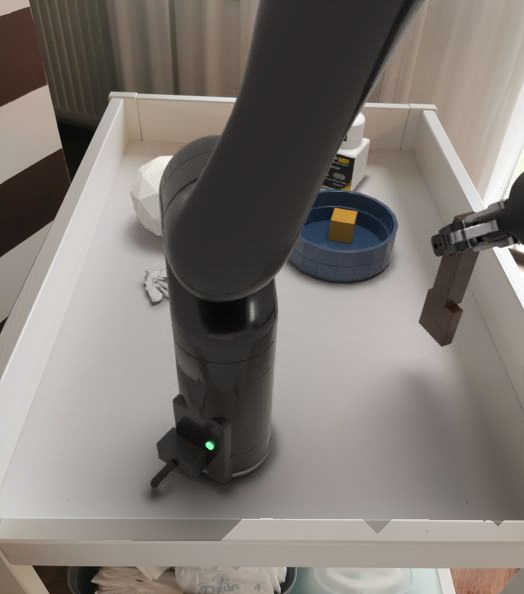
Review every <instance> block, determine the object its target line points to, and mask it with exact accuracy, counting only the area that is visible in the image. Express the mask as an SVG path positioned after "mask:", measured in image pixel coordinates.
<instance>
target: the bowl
mask: <svg viewBox="0 0 524 594" xmlns="http://www.w3.org/2000/svg"><path fill="white" fill-rule="evenodd" d="M335 208H339V209H345V210H351V211H357V218H356V224H355V230H354V234H353V238H352V241H351V243H346V242H340V241H334V240H329V239H328V238H329V230H330V222H331V218H332V215H333V212H334V209H335ZM398 229H399V222H398V219H397V216H396V214H395V213H394V212H393V211H392V209H391V208H390V207H389V206H388V205H387V204H385V203H384V202H382V201H381V200H379V199H377V198H375V197H373V196H370V195H368V194H364V193H363V192H358V191H354V190H353V191H348V190H332V189H322V190H321V189H320V191H319V193H318V195H317V197H316V200H315V202H314V204H313V206H312V208H311V211H310V213H309V215H308V217H307V220H306V222H305V224H304V226H303V229H302V231H301V233H300V236H299V238H298V240H297V242H296V244H295V246H294V248H293V250H292V252H291V254H290V256H289V258H288V260H289V261H290V262H291V263H292V264H293V265H294V266H295V267H296V268H297V269H299V270H300V271H301V272H303V273H305V274H307V275H309V276H311V277H314V278H316V279H320V280H323V281H327V282H336V283H352V282H353V283H354V282H358V281H359V282H360V281H363V280H367V279H369V278H372V277H374V276H376V275H377V274H378V273H380V272H382V271H383V270H384V269H385V268H386V267H387V266H388V265H389V263H390V262H391V260H392V255H393V251H394V247H395V242H396V239H397V233H398Z"/></svg>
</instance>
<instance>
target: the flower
mask: <svg viewBox="0 0 524 594" xmlns="http://www.w3.org/2000/svg"><path fill="white" fill-rule="evenodd" d="M150 269H151V268H150V267H149V268H148V269H147V270H144V272H145V275H144V277H143V279H144V281H143V283H144V284H145V288H144V289H145V290H144V291H147V293H148V295H149V298H150V300H151V302H153V303H154V302H159V301H161V300H162V299H163V296H164V297H166V298H169V296H168V286H167V280H165V278H167V274H166V268H163V269H160V268H157V270H156V271H154V272H152V271H151V272H150Z"/></svg>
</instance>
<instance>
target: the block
mask: <svg viewBox="0 0 524 594" xmlns="http://www.w3.org/2000/svg"><path fill="white" fill-rule="evenodd" d="M356 218H357V211H351V210H345V209H339V208H335V209H334V212H333V215H332V218H331V222H330V230H329V238H328V239H329V240H334V241H340V242H346V243H351V241H352V238H353V234H354V230H355V224H356Z"/></svg>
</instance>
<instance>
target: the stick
mask: <svg viewBox="0 0 524 594" xmlns="http://www.w3.org/2000/svg"><path fill="white" fill-rule="evenodd" d="M476 212H477V211H468V212H465V213H461V214H456V215H454V217H453V220H452V221H455V220H458V221H461V220H463V221H464V220H465V218H466V216H468V215H471V214H474V213H476ZM480 253H481V251H479V252H474V251H473V250H472V249H471V248H470V249H467V250H466V251H465V252H462V253H460V252H456V253H454V254H455V255H451V256H449V255H443V256H441V258H440V263H439V265H438V269H437V272H436V276H435V278H434V282H433V284H432V285H433V286H432V287H431V288H428V289H427V293H426V296H425V299H424V302H423V306H422V309H421V313H420V316H419V320H418V324H419V325H420V326H421V327H422V328H423V330H425V331H426V332H427V333H428V334H429V335H430V337H431V338H432V339H433V340H434V341H435V342H436V343H437V344H438V345H439V346H440V347H441V348H442V347H443V348H444V347H447V346H449V345H452V342H453V340H454V338H455V334H456V331H457V329H458V326H459V324H460V321H461V319H462V316H463V313H464V309H463V308H462V307H461V306H460V304H462V302H463V300H464V297H465V294H466V291H467V288H468V285H469V284H470V281H471V277H472V275H473V272H474V269H475V266H476V263H477V261H478V258H479V255H480Z"/></svg>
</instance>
